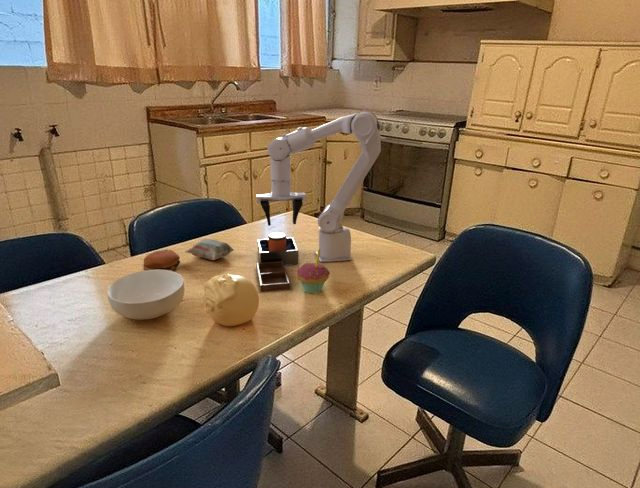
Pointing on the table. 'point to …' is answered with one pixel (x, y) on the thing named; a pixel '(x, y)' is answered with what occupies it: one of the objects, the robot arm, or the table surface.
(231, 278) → the sculpture
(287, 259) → the basin
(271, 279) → the tray
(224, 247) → the packaged food
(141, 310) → the cereal bowl
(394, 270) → the table surface
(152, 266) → the burger
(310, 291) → the cupcake
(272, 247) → the container
